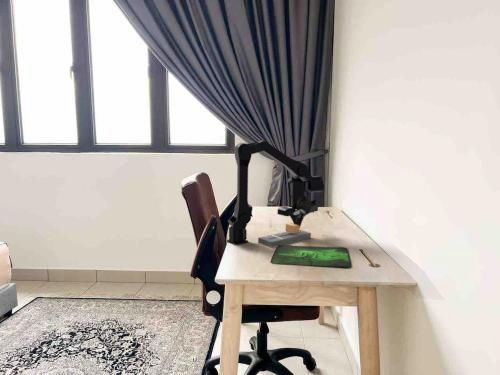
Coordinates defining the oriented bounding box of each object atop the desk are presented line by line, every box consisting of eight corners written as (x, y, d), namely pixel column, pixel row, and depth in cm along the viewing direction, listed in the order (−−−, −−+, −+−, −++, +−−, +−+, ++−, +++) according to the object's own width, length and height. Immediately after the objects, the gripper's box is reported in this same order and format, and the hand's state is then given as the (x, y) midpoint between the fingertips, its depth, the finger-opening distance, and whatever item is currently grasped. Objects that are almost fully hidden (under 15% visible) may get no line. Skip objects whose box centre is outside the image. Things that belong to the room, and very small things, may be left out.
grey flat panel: (271, 247, 146) (271, 241, 146) (258, 242, 153) (258, 237, 152) (310, 237, 160) (310, 232, 159) (297, 233, 166) (297, 228, 166)
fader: (293, 234, 155) (293, 226, 155) (285, 232, 159) (285, 223, 159) (299, 233, 157) (299, 224, 157) (291, 230, 161) (291, 222, 161)
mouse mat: (268, 264, 128) (268, 262, 128) (276, 246, 149) (276, 243, 149) (352, 269, 123) (352, 266, 123) (347, 249, 144) (347, 247, 144)
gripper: (296, 197, 146) (295, 237, 148) (328, 193, 157) (327, 229, 159) (276, 194, 155) (276, 231, 157) (308, 189, 166) (307, 224, 168)
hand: (297, 229), depth 160 cm, fingers closed
